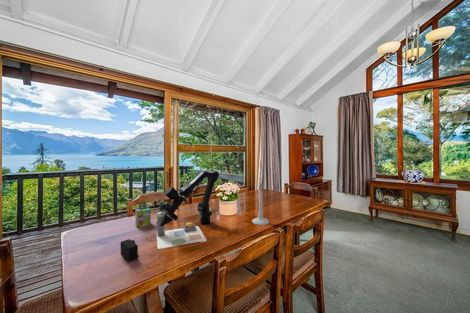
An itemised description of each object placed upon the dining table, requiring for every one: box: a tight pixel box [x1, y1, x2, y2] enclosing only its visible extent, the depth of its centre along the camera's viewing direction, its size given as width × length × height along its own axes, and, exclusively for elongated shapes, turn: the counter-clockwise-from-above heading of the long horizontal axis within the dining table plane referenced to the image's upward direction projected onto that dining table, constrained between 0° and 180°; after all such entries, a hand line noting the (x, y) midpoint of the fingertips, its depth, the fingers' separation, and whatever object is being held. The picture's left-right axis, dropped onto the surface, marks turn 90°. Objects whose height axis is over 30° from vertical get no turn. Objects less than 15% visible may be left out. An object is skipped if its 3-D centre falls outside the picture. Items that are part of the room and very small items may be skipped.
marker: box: [156, 211, 166, 237], centre depth 122 cm, size 5×5×14 cm
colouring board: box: [156, 225, 207, 250], centre depth 121 cm, size 27×24×1 cm
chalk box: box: [134, 203, 152, 229], centre depth 140 cm, size 9×9×15 cm
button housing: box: [182, 223, 196, 232], centre depth 131 cm, size 7×7×2 cm
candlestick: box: [251, 182, 270, 226], centre depth 147 cm, size 13×13×30 cm
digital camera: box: [120, 238, 139, 263], centre depth 99 cm, size 10×5×7 cm, turn 49°
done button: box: [185, 221, 194, 228], centre depth 131 cm, size 4×4×2 cm
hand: (158, 224), depth 121 cm, fingers open, 6 cm apart
